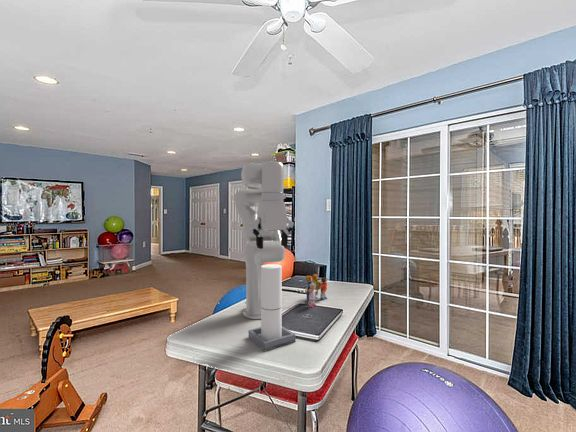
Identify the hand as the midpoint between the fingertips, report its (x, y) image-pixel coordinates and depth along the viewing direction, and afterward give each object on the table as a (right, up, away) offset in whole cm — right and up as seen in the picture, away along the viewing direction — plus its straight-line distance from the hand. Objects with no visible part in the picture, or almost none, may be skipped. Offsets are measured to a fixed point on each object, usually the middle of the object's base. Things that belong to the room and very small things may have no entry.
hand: (272, 247), depth 103 cm
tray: (0, -32, +1) cm, 32 cm away
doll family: (+17, -31, +41) cm, 54 cm away
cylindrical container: (0, -32, +1) cm, 32 cm away
